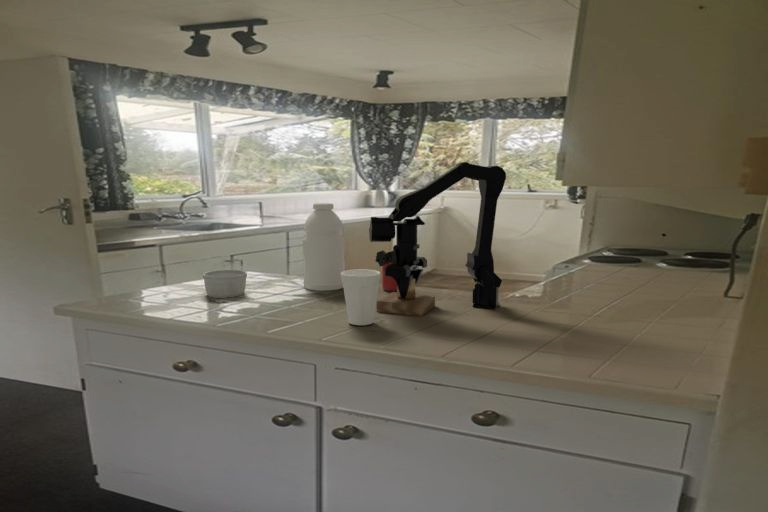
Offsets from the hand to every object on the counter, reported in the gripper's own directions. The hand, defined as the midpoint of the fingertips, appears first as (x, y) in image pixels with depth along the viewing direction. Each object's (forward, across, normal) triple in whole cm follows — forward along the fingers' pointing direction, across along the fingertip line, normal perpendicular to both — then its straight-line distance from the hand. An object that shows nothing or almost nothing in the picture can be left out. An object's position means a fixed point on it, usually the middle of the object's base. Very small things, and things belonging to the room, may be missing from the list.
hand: (406, 296), depth 148 cm
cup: (+4, +18, -5) cm, 20 cm away
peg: (+3, 0, 0) cm, 3 cm away
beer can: (+4, -22, -13) cm, 26 cm away
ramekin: (+4, +5, -59) cm, 59 cm away
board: (+4, 0, 0) cm, 4 cm away
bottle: (+4, -17, -36) cm, 40 cm away
